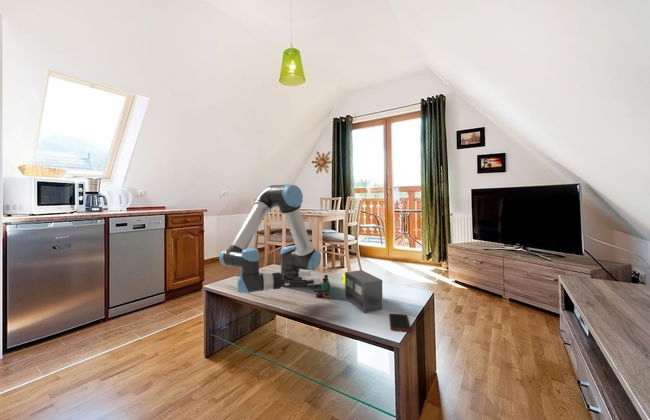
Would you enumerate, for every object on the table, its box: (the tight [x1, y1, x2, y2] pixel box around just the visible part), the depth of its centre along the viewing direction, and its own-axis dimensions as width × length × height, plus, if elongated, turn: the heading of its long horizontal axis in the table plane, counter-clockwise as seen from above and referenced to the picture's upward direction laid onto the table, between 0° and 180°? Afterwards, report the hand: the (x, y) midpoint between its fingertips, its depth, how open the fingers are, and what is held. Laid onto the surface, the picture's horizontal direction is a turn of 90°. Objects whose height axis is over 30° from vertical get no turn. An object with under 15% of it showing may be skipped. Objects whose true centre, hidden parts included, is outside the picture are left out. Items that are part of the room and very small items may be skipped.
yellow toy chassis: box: [341, 270, 352, 285], centre depth 155 cm, size 16×6×8 cm, turn 21°
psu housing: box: [344, 269, 383, 314], centre depth 130 cm, size 19×10×14 cm, turn 23°
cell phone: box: [389, 313, 412, 333], centre depth 110 cm, size 8×15×1 cm, turn 169°
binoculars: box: [312, 274, 331, 299], centre depth 142 cm, size 9×11×10 cm
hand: (315, 276), depth 130 cm, fingers open, 13 cm apart
